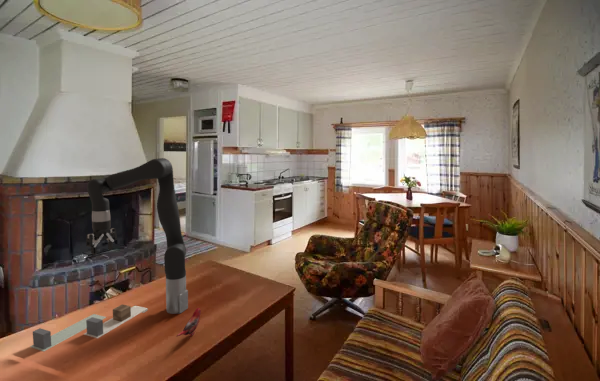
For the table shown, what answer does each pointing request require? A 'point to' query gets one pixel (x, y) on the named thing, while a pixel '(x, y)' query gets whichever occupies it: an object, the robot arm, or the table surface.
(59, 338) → the sage strip
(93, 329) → the cream strip
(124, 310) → the walnut block
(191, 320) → the decorative bird figurine
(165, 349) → the table surface
